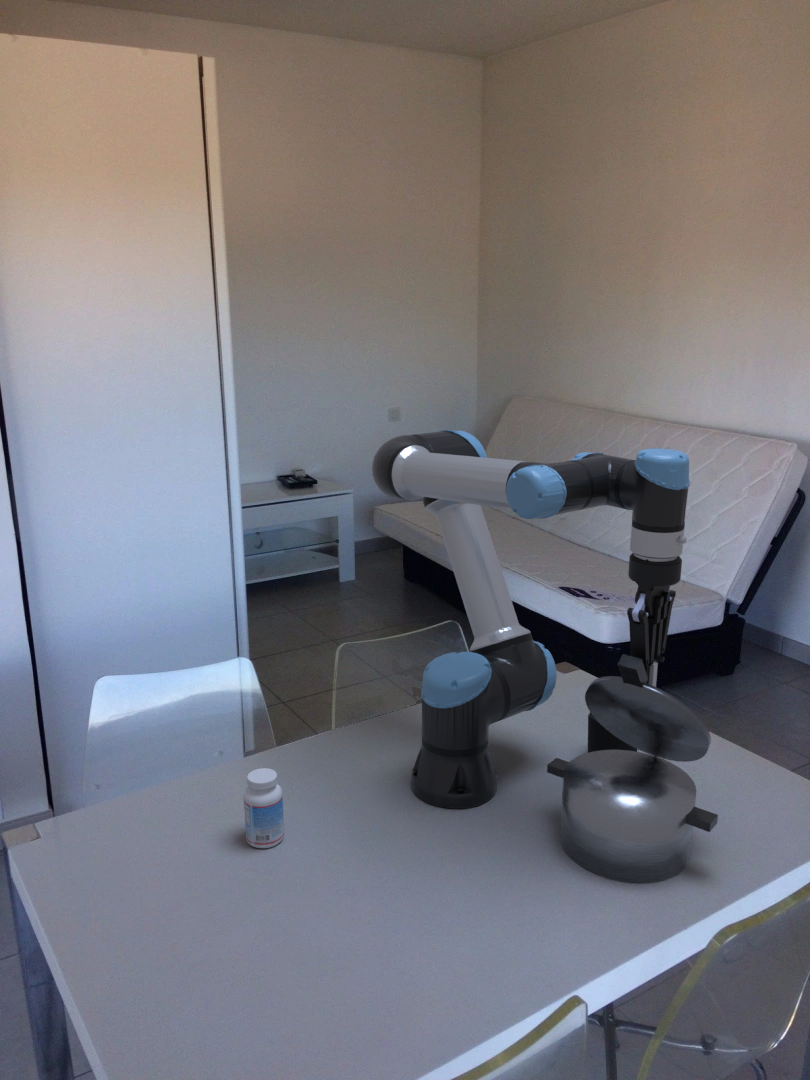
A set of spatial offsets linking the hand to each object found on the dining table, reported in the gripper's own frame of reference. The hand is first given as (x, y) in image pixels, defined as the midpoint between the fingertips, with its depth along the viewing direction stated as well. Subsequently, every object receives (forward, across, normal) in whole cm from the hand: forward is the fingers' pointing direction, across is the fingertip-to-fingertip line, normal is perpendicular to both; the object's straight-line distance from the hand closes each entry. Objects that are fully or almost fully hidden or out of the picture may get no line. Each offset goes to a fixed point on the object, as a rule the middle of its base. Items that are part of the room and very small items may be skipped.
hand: (644, 700), depth 136 cm
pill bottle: (+23, -38, +46) cm, 64 cm away
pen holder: (+24, +18, +12) cm, 32 cm away
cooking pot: (+23, -4, 0) cm, 23 cm away
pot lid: (+2, -1, 0) cm, 2 cm away
